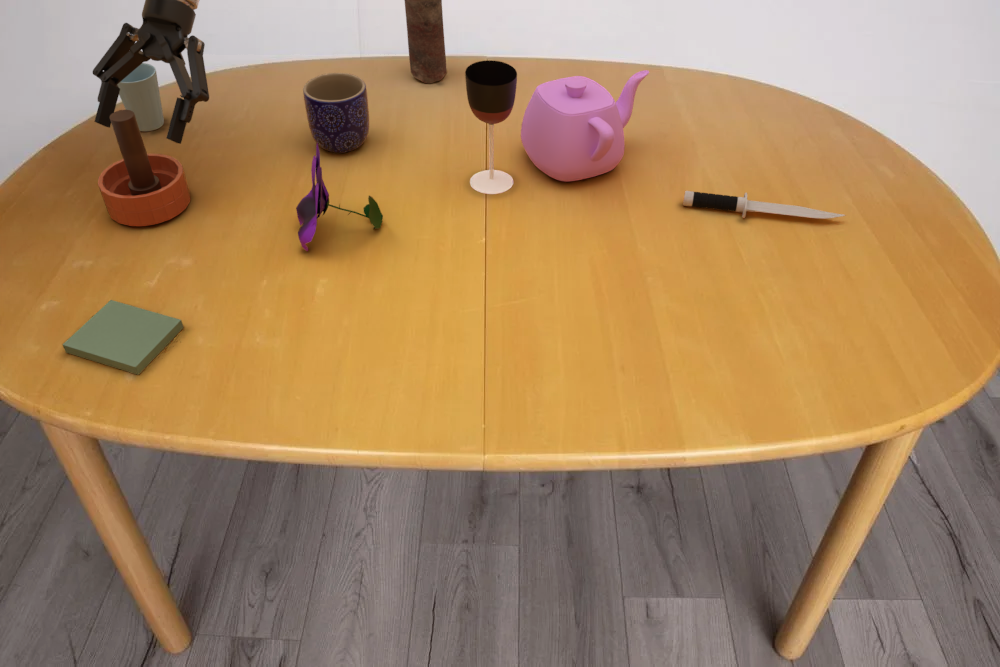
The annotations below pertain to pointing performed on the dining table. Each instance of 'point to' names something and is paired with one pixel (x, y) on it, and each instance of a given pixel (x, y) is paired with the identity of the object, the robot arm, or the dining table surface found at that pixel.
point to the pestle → (134, 153)
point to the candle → (426, 39)
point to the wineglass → (491, 113)
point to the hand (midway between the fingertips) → (137, 133)
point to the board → (123, 336)
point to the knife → (750, 205)
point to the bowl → (146, 205)
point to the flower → (325, 206)
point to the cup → (143, 97)
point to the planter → (337, 111)
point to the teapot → (577, 126)
